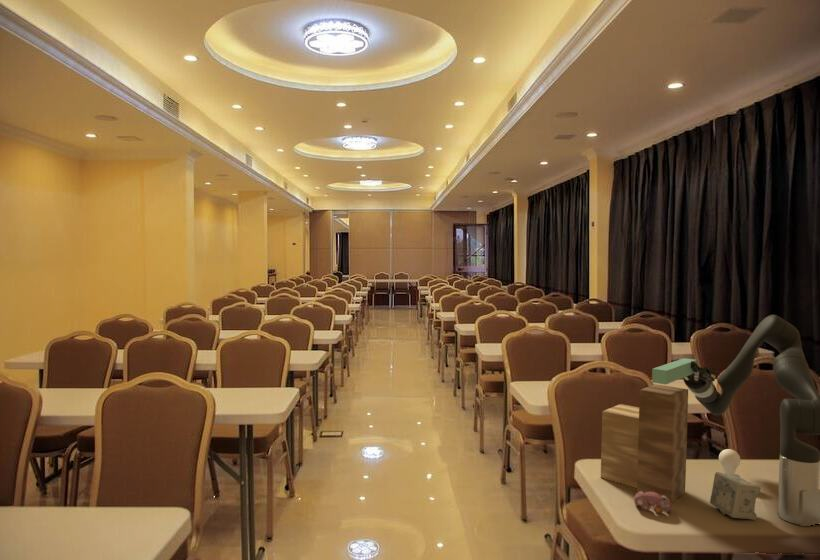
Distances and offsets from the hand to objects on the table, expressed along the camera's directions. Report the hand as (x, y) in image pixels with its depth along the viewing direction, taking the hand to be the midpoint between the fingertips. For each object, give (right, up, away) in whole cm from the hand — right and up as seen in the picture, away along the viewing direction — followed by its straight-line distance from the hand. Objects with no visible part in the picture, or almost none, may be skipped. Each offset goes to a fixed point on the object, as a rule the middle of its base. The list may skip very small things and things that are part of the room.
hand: (684, 363), depth 183 cm
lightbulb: (+16, -39, +4) cm, 43 cm away
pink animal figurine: (-17, -40, -18) cm, 47 cm away
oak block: (-15, -39, +8) cm, 42 cm away
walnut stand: (-10, -39, -5) cm, 41 cm away
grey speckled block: (+5, -40, -19) cm, 44 cm away
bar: (-5, -4, -5) cm, 8 cm away
